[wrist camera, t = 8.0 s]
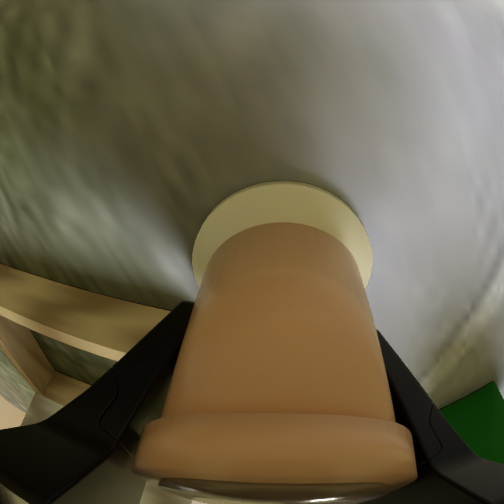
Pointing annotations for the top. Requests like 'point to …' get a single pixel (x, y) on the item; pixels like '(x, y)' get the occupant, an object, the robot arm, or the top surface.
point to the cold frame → (68, 340)
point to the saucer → (282, 220)
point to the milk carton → (480, 422)
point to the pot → (279, 382)
